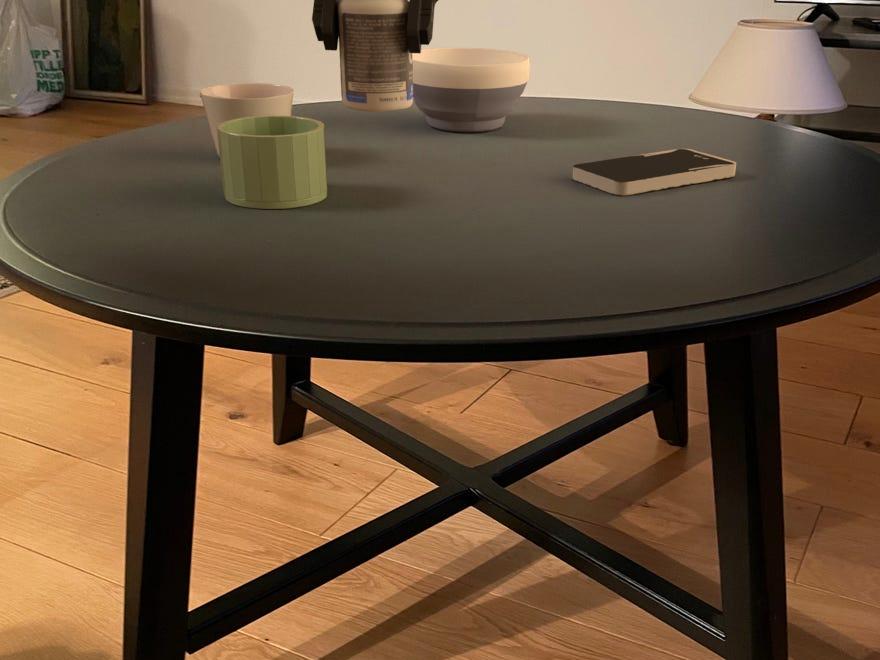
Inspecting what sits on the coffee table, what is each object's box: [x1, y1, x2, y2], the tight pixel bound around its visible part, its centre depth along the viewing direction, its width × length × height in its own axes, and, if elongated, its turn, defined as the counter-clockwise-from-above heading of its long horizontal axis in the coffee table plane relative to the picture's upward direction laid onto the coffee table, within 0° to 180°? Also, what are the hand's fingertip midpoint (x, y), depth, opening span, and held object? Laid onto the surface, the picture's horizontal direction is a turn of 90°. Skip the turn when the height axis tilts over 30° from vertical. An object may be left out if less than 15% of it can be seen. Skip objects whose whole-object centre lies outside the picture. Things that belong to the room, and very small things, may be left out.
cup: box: [217, 115, 329, 210], centre depth 90 cm, size 9×9×6 cm
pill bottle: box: [337, 0, 414, 113], centre depth 66 cm, size 5×5×8 cm
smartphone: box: [572, 148, 737, 197], centre depth 99 cm, size 8×1×15 cm
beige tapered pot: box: [199, 82, 294, 158], centre depth 102 cm, size 9×9×6 cm
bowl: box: [412, 47, 531, 134], centre depth 117 cm, size 14×14×8 cm
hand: (371, 42), depth 64 cm, fingers closed on pill bottle, 4 cm apart
